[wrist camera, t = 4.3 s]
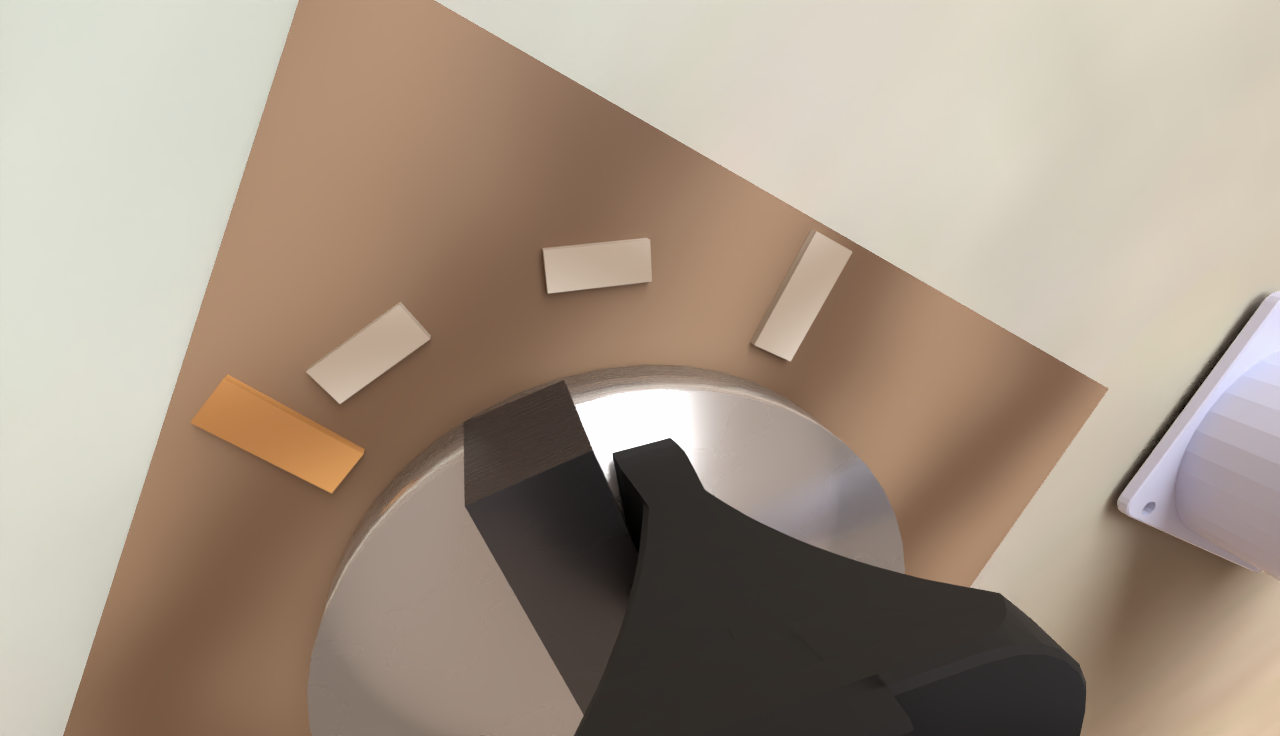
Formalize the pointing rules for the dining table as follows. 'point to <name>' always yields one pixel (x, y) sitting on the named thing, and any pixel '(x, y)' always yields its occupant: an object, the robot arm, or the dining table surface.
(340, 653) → the dial
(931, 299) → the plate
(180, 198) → the dining table surface
